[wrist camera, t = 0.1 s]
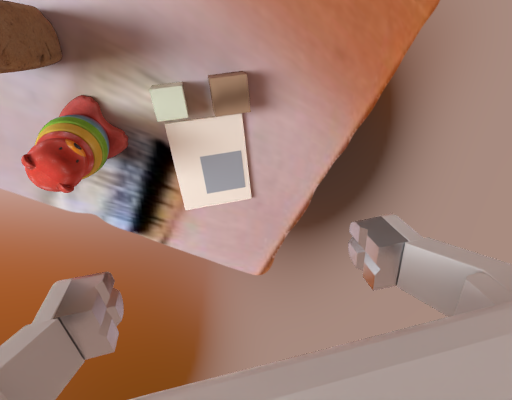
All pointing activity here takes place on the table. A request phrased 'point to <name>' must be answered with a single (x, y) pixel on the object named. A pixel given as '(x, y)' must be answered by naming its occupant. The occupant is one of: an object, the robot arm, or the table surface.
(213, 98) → the walnut cube
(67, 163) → the stacking bear
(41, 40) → the block
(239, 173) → the white flat board
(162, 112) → the sage cube
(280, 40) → the table surface
